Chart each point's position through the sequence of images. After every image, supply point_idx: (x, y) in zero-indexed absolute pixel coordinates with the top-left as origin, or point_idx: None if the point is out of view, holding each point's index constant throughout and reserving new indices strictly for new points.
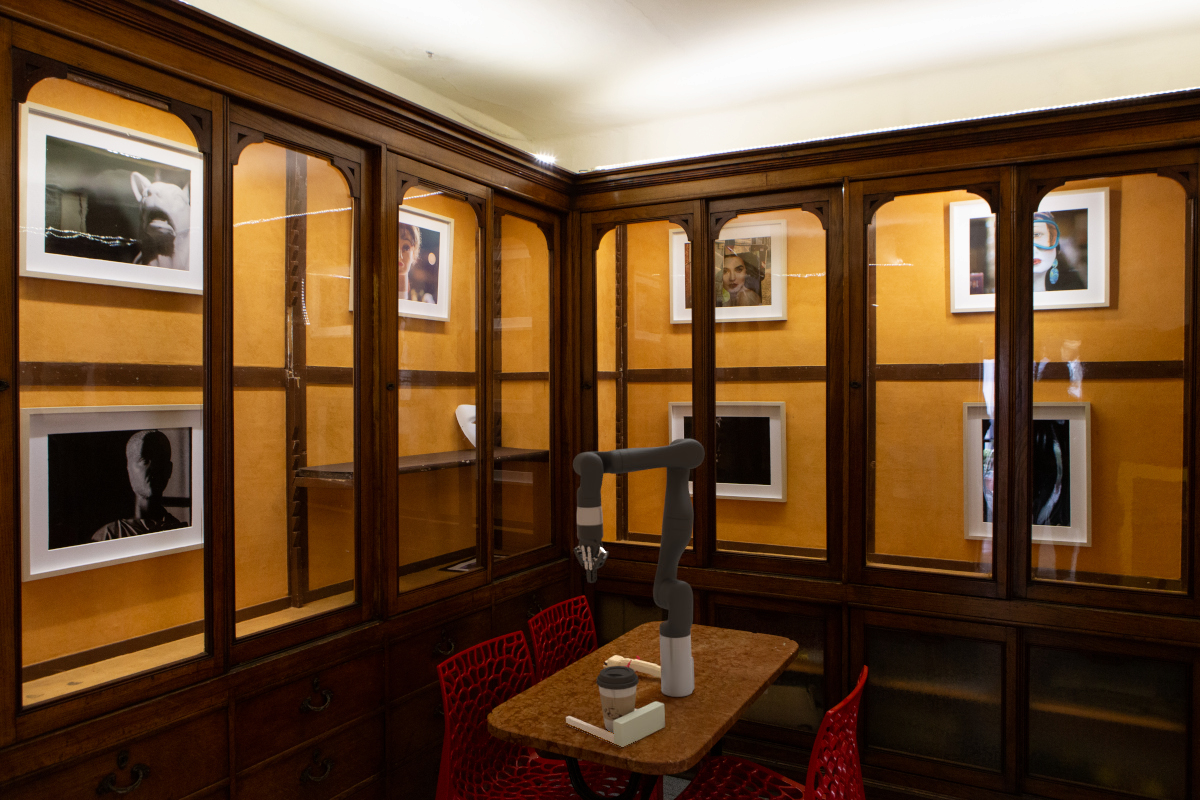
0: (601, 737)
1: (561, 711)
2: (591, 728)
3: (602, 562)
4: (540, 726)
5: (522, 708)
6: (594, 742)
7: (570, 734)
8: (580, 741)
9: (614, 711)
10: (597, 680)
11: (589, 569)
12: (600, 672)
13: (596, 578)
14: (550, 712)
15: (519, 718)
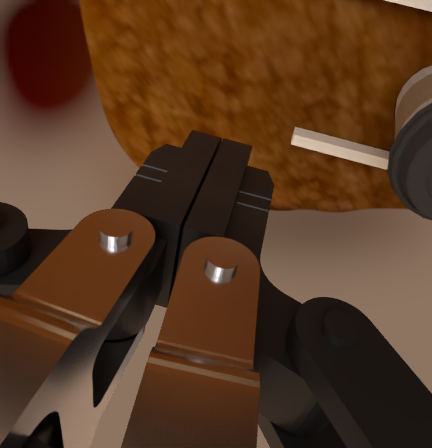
0: None
1: (237, 76)
2: (379, 167)
3: (421, 442)
4: None
5: (143, 104)
6: None
7: (327, 172)
8: (365, 190)
9: None
10: (404, 204)
11: (159, 289)
12: (413, 201)
13: (271, 194)
14: (216, 94)
15: None
